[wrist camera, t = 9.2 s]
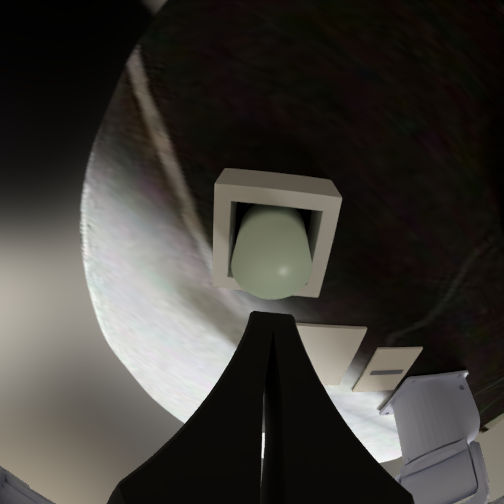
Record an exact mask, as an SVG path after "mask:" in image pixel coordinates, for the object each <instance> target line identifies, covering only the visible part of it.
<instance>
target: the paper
mask: <svg viewBox="0 0 504 504" xmlns="http://www.w3.org/2000/svg"><path fill="white" fill-rule="evenodd" d="M296 326H297V329H298V332H299V334H300V337H301V340H302V342H303V345H304V347H305V349H306V352H307V354H308V356H309V358H310V361H311V363H312V365H313V367H314V369H315V371H316V373H317V375H318V377H319V379H320V381H321V383H322V385H339V384H340V382H341V380H342V378H343V377H344V375H345V373H346V371H347V369H348V367H349V365H350V363H351V362H352V360H353V358H354V356H355V354H356V352H357V350H358V348H359V346H360V344H361V342H362V339H363V337H364V335H365V333H366V331H367V327H361V326H339V325H322V324H308V323H296Z"/></svg>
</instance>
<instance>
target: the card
mask: <svg viewBox="0 0 504 504" xmlns="http://www.w3.org/2000/svg"><path fill="white" fill-rule="evenodd" d="M422 349H423V347H377V349H376V351H375V353H374V355H373V356H372V358H371V360H370V362H369V363H368V365H367V367H366V369H365V370H364V372H363V374H362V375H361V377H360V379H359V380H358V382H357V383H356V385H355V387H354V388H353V390H352V392H367V391H386V390H394V389H395V387H396V386H397V385H398V384H399V382H400V381H401V379H402V378H403V377H404V375H405V374H406V373H407V371H408V370H409V368H410V367H411V366H412V364H413V363H414V361H415V360H416V358H417V357H418V355H419V354H420V352H421V351H422Z"/></svg>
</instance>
